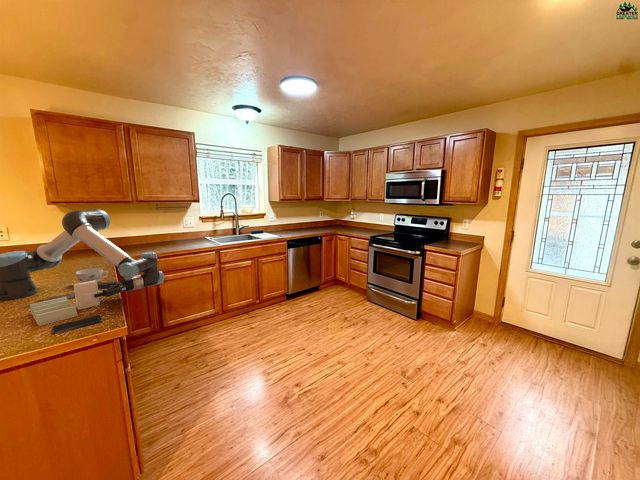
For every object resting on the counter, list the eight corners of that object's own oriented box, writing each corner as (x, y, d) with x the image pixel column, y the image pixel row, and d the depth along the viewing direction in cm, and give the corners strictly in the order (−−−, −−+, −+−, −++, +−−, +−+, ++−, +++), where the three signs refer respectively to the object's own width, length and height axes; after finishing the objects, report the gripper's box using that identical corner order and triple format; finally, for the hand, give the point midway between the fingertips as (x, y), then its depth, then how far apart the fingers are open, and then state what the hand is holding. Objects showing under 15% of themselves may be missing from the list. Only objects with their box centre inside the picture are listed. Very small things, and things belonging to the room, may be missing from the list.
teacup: (75, 287, 153) (73, 274, 152) (79, 282, 163) (77, 269, 162) (107, 283, 162) (106, 270, 160) (109, 278, 172) (108, 266, 170)
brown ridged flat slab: (86, 290, 150) (86, 288, 150) (93, 294, 144) (93, 292, 144) (19, 305, 128) (19, 303, 128) (24, 310, 123) (23, 308, 122)
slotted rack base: (31, 313, 119) (29, 304, 118) (67, 305, 129) (65, 296, 128) (38, 326, 107) (37, 316, 107) (77, 315, 117) (76, 306, 116)
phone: (102, 320, 112) (52, 333, 101) (102, 322, 112) (53, 335, 101) (99, 314, 117) (52, 326, 106) (99, 317, 117) (52, 328, 106)
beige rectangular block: (76, 308, 125) (73, 284, 124) (97, 302, 132) (94, 280, 130) (78, 309, 123) (75, 285, 122) (99, 304, 130) (96, 281, 128)
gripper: (141, 295, 135) (88, 308, 118) (124, 285, 149) (74, 295, 132) (140, 281, 134) (86, 292, 117) (122, 272, 148) (72, 281, 131)
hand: (80, 294), depth 125 cm, fingers open, 13 cm apart
